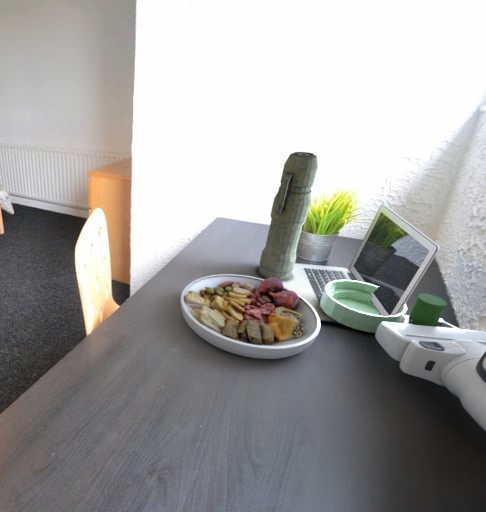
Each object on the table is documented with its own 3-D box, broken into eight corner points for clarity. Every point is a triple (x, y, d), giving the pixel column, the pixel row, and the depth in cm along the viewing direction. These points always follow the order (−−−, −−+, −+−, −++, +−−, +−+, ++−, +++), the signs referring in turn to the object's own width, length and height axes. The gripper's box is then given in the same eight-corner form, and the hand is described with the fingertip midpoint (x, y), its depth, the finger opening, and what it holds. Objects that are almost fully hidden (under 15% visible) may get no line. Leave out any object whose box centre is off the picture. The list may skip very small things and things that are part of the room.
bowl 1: (275, 390, 69) (285, 359, 66) (153, 319, 90) (156, 291, 87) (336, 326, 86) (346, 298, 83) (221, 278, 107) (225, 254, 104)
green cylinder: (415, 341, 80) (438, 294, 75) (427, 354, 76) (452, 306, 71) (392, 338, 81) (413, 292, 76) (403, 351, 77) (426, 304, 72)
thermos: (299, 272, 109) (332, 152, 93) (279, 285, 103) (311, 159, 87) (270, 261, 116) (296, 148, 100) (249, 273, 109) (274, 154, 93)
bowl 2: (378, 299, 96) (385, 282, 94) (414, 339, 82) (422, 320, 80) (310, 293, 99) (315, 277, 97) (333, 330, 85) (339, 312, 83)
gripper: (547, 359, 61) (485, 312, 73) (405, 344, 65) (369, 301, 77) (527, 387, 64) (471, 337, 76) (392, 371, 68) (360, 325, 80)
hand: (419, 319), depth 77 cm, fingers closed on green cylinder, 4 cm apart
